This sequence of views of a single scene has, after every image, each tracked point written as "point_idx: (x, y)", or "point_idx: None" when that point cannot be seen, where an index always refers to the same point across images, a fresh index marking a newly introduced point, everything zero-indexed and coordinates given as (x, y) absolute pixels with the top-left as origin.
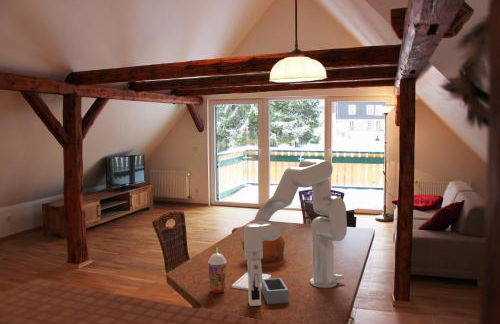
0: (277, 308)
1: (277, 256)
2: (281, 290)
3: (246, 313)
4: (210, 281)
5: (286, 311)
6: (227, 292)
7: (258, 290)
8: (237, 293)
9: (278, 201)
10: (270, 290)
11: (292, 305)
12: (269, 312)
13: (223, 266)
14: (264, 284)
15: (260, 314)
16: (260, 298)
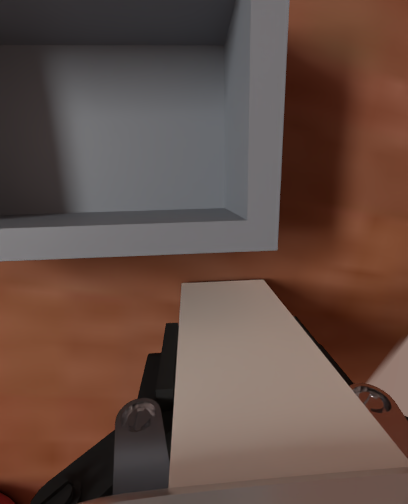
0: (333, 160)
1: None
2: (285, 33)
3: (346, 373)
4: None
5: (404, 96)
6: (6, 465)
7: (369, 391)
8: (23, 410)
9: None
10: (263, 206)
11: (312, 2)
12: (378, 233)
13: None
14: (34, 253)
15: (386, 296)
16: (280, 304)
